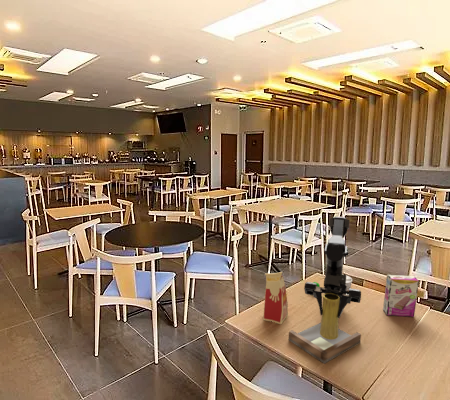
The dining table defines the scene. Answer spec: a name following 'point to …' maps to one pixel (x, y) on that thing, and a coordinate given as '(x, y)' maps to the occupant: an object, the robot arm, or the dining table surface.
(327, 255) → the robot arm
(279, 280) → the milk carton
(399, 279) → the candy bar box
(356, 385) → the dining table surface
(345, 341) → the arena
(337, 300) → the vase
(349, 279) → the ramekin
